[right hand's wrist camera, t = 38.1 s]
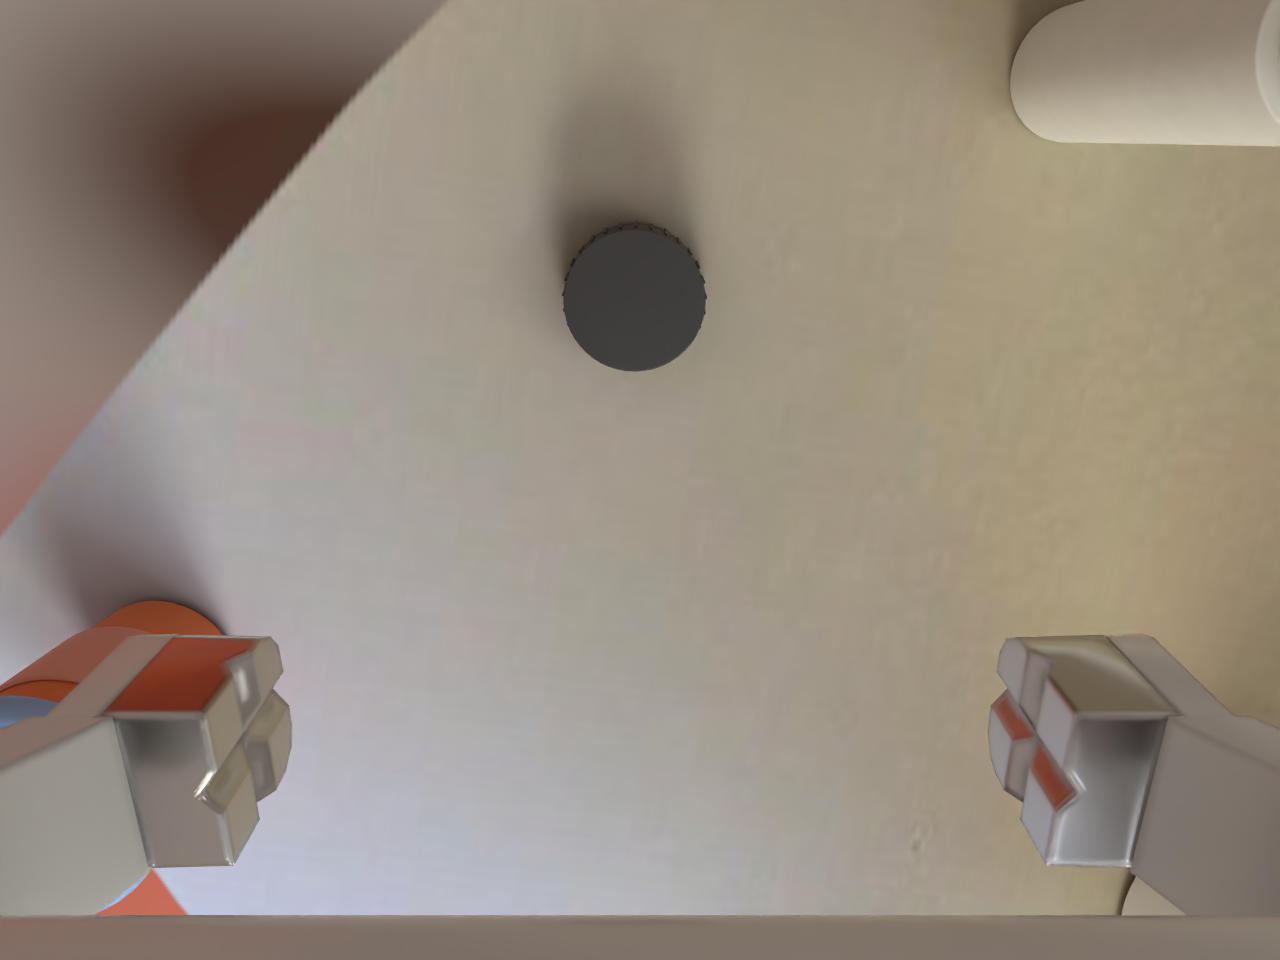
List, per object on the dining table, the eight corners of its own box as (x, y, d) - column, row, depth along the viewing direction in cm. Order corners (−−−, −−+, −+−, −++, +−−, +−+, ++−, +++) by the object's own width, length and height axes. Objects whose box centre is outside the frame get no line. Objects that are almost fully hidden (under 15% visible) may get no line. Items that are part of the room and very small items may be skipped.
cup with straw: (92, 536, 39) (-319, 838, 22) (295, 617, 41) (52, 958, 24) (44, 698, 42) (-351, 1074, 25) (236, 768, 44) (-19, 1168, 27)
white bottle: (1033, -10, 32) (1381, -136, 17) (1158, 16, 32) (1607, -85, 17) (992, 129, 34) (1277, 125, 19) (1111, 153, 34) (1484, 168, 19)
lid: (541, 319, 36) (535, 330, 34) (606, 194, 34) (604, 198, 32) (660, 384, 37) (661, 398, 35) (729, 265, 35) (734, 273, 33)
